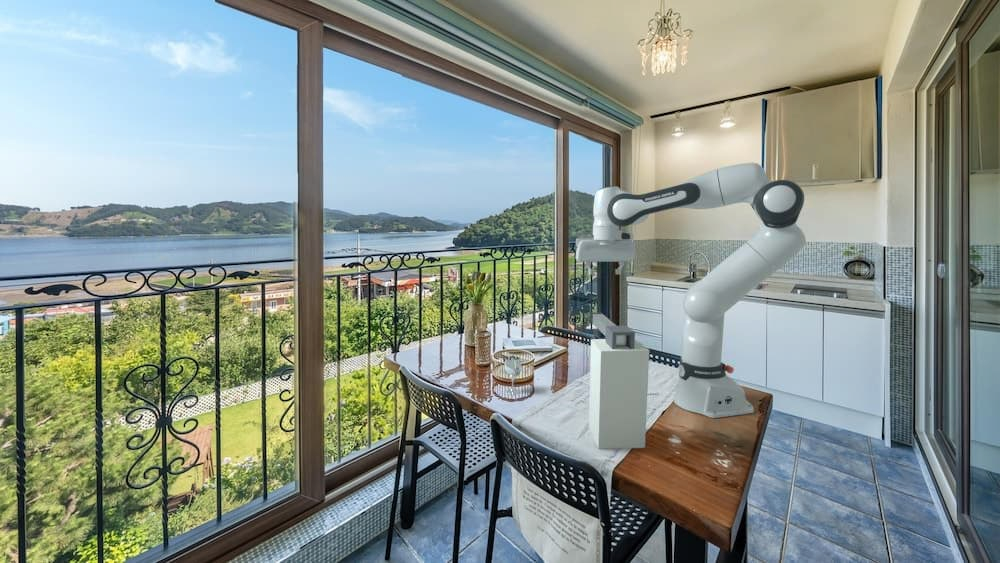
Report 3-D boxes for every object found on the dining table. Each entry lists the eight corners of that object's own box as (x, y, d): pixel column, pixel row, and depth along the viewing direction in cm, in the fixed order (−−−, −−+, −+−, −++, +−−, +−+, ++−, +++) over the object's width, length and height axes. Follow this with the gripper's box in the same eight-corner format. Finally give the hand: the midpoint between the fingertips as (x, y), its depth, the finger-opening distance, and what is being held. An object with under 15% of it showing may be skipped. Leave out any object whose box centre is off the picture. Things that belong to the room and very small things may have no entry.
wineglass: (519, 395, 133) (519, 361, 131) (503, 394, 134) (502, 360, 132) (522, 388, 138) (522, 355, 136) (506, 387, 139) (505, 355, 138)
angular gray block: (601, 322, 125) (601, 312, 124) (626, 345, 101) (627, 333, 101) (590, 322, 125) (591, 312, 124) (614, 346, 101) (614, 334, 100)
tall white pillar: (631, 427, 111) (635, 323, 107) (644, 447, 102) (650, 333, 97) (588, 428, 111) (591, 323, 107) (598, 448, 101) (601, 334, 97)
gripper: (577, 235, 133) (577, 276, 135) (638, 234, 134) (636, 275, 136) (573, 234, 140) (573, 273, 142) (631, 234, 140) (630, 272, 142)
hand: (604, 274), depth 139 cm, fingers open, 8 cm apart
